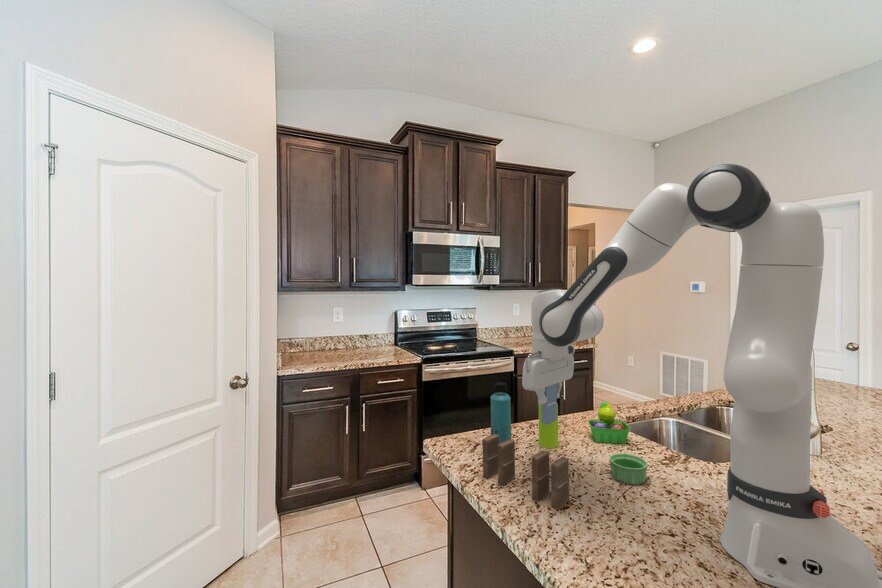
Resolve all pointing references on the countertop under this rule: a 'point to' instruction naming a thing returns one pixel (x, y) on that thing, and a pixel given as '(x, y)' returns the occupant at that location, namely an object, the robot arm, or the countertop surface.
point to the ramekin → (628, 468)
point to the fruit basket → (608, 426)
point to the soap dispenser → (548, 432)
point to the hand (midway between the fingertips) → (549, 400)
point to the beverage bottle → (501, 413)
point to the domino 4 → (549, 405)
